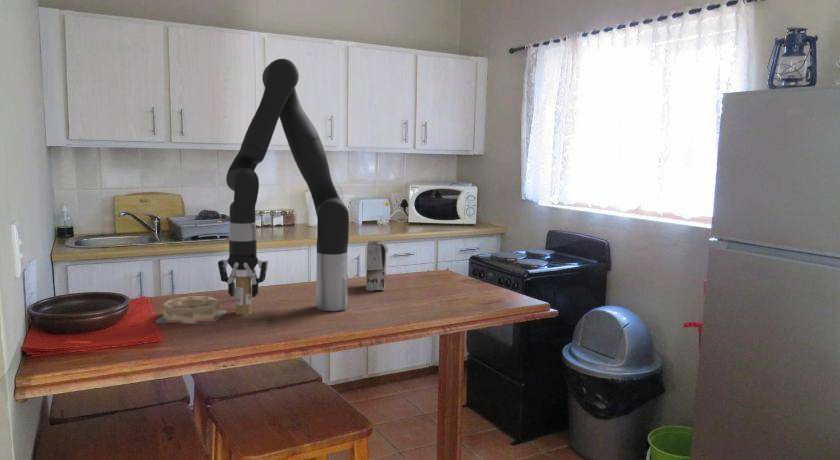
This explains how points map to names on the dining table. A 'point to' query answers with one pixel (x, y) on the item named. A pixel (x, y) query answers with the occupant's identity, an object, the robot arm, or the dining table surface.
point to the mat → (221, 312)
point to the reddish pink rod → (196, 321)
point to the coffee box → (376, 266)
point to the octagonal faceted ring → (191, 309)
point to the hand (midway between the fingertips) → (243, 296)
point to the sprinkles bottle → (243, 292)
